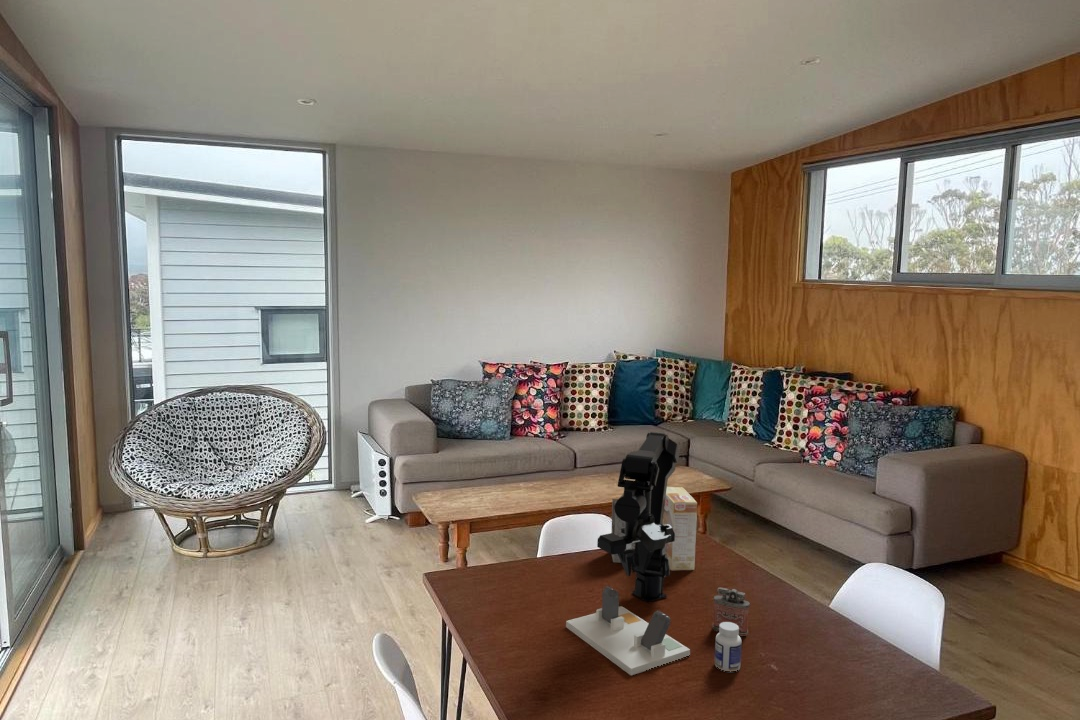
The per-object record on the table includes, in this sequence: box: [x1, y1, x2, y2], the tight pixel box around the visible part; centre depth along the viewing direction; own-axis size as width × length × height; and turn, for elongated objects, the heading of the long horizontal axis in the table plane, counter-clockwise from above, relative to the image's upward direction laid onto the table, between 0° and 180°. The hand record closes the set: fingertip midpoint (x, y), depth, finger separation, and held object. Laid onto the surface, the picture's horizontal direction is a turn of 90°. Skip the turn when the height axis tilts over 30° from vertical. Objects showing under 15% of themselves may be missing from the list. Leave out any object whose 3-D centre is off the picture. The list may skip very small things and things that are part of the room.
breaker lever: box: [601, 585, 620, 624], centre depth 172 cm, size 2×4×8 cm, turn 31°
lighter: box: [711, 587, 751, 635], centre depth 173 cm, size 8×3×10 cm, turn 65°
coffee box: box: [611, 498, 636, 564], centre depth 216 cm, size 9×6×16 cm
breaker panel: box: [565, 605, 691, 676], centre depth 167 cm, size 16×24×9 cm, turn 31°
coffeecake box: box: [662, 486, 698, 571], centre depth 215 cm, size 15×7×20 cm, turn 5°
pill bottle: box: [714, 622, 742, 673], centre depth 158 cm, size 5×5×9 cm
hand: (635, 573), depth 175 cm, fingers open, 4 cm apart
